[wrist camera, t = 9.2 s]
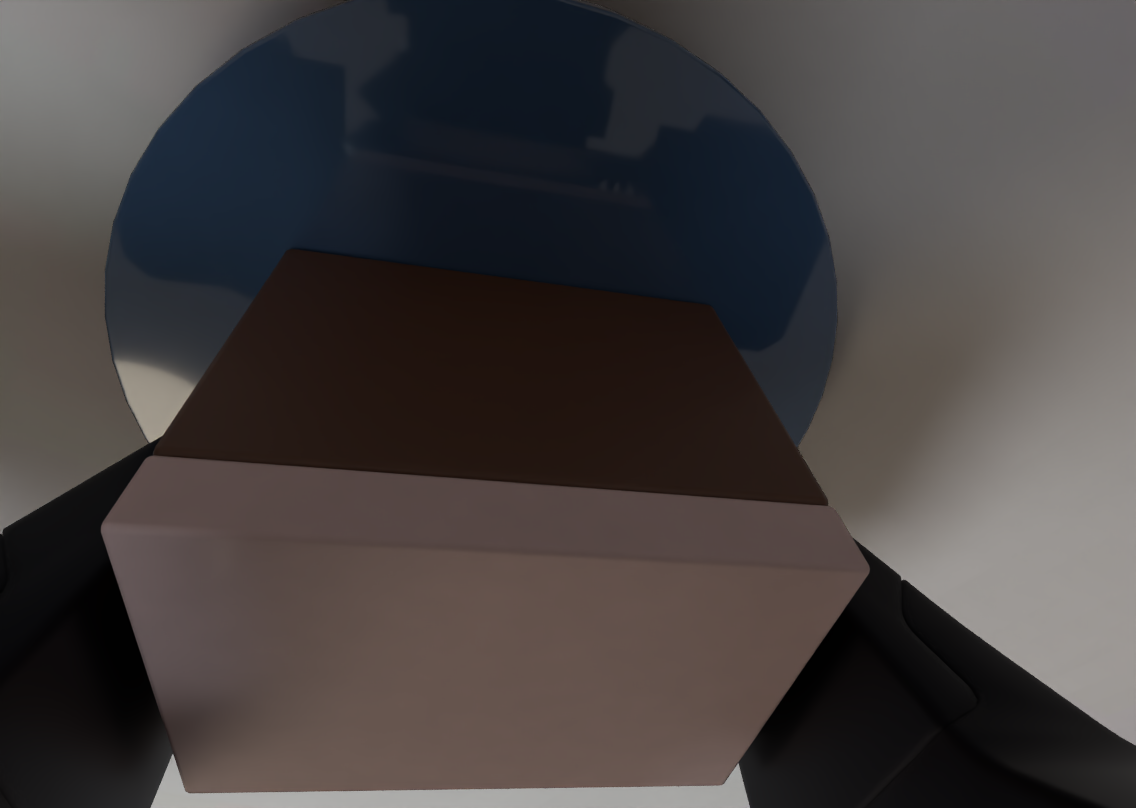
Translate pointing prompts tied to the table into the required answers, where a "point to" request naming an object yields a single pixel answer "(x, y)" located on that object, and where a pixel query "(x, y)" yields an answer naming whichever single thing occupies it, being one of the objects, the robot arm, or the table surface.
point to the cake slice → (472, 541)
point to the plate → (469, 184)
